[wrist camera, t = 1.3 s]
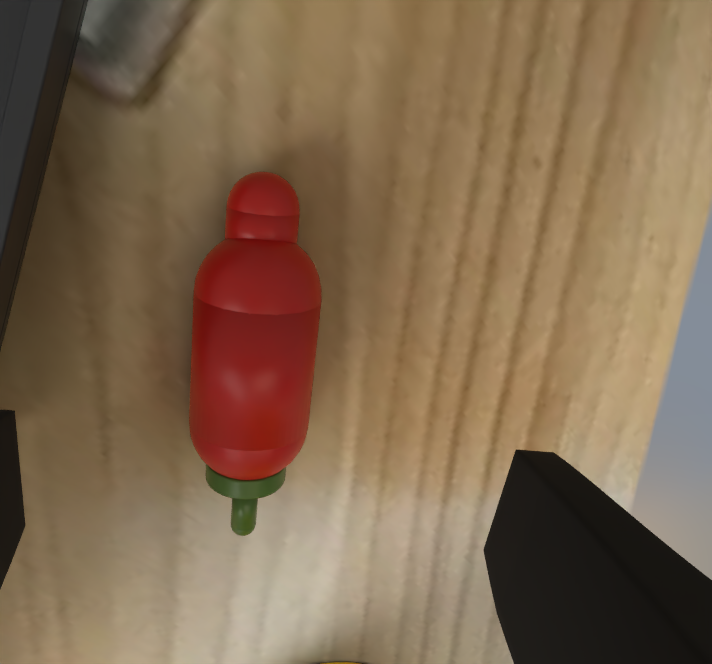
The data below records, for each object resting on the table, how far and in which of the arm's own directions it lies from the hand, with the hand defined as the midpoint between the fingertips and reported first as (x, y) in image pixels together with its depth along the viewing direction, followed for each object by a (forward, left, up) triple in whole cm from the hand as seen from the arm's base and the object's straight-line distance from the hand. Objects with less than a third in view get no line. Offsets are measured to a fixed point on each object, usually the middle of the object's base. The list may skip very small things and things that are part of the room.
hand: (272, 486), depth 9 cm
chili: (-1, 0, -9) cm, 9 cm away
